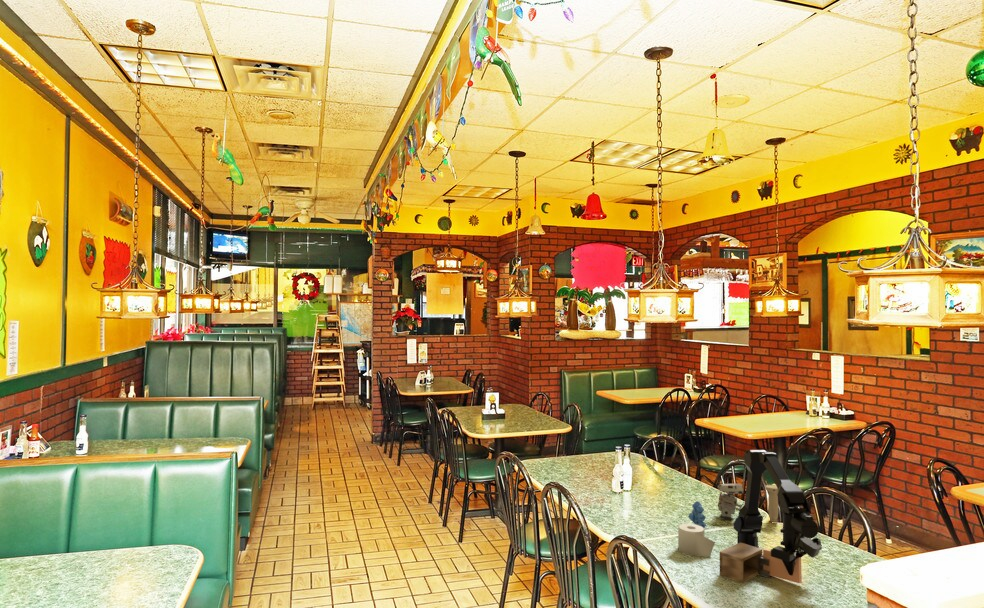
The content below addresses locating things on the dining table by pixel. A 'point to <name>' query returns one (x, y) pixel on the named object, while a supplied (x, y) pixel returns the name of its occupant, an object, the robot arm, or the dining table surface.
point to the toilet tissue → (694, 540)
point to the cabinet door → (782, 568)
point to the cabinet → (739, 562)
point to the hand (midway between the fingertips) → (792, 574)
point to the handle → (773, 502)
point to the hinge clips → (762, 562)
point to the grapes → (697, 514)
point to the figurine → (729, 499)
